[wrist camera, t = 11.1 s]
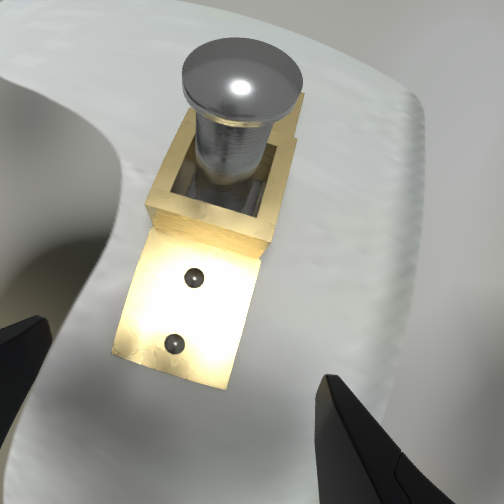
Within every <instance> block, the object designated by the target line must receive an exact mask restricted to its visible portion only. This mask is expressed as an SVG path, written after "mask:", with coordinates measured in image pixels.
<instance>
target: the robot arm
mask: <svg viewBox="0 0 504 504" xmlns="http://www.w3.org/2000/svg"><path fill="white" fill-rule="evenodd" d="M51 344H52V334H51V330H50V326H49V322H48V320H47V318H45V317H42V316H40V315H35V316H33V317H30V318H28V319H25V320H22V321H20V322H17V323H15V324H12V325H10V326H7V327H5V328H2V329H0V449H1V446H2V444H3V442H4V440H5V437H6V435H7V433H8V431H9V429H10V427H11V425H12V423H13V421H14V419H15V417H16V414H17V413H18V411H19V409H20V407H21V405H22V403H23V401H24V399H25V398H26V396H27V394H28V392H29V390H30V388H31V386H32V385H33V383H34V381H35V379H36V377H37V375H38V373H39V370H40V368H41V366H42V364H43V361H44V359H45V357H46V355H47V353H48V350H49V348H50V346H51ZM315 454H316V465H317V476H318V488H319V501H320V504H455V503H454V502H453V501H452V500H451V499H449V498H448V497H447V496H446V495H445V494H444V493H443V492H442V491H441V490H439V489H438V488H437V487H436V486H435V485H434V484H433V483H432V482H431V481H430V480H429V479H428V478H426V477H425V476H424V475H423V474H422V473H421V472H420V471H419V470H418V469H417V467H416V466H415V465H414V464H413V463H412V462H411V461H410V460H409V459H408V457H407V456H406V455H405V454H404V453H403V452H401V449H400V448H399V447H398V446H397V445H396V443H395V442H394V441H393V440H392V439H391V438H390V436H389V435H388V434H387V433H386V432H385V430H384V429H383V428H382V427H381V426H380V425H379V423H378V422H377V421H376V420H375V419H374V417H373V416H372V415H371V414H370V413H369V412H368V410H367V409H366V408H365V407H364V406H363V404H362V403H361V402H360V401H359V400H358V398H357V397H356V396H355V395H354V394H353V392H352V391H351V390H350V389H349V388H348V386H347V385H346V384H345V383H344V382H343V380H342V379H341V378H340V377H339V376H338V375H332V374H325V375H324V376H323V378H322V380H321V383H320V385H319V388H318V390H317V393H316V398H315Z"/></svg>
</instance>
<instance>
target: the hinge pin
mask: <svg viewBox="0 0 504 504" xmlns="http://www.w3.org/2000/svg"><path fill="white" fill-rule="evenodd" d="M302 86H303V78H302V74H301V71H300V69H299V67H298V66H297V64H296V63H295V62H294V61H293V59H292V58H290V57H289V56H288V55H287V54H286V53H284V52H283V51H282V50H280V49H278V48H276V47H274V46H272V45H270V44H268V43H265V42H262V41H258V40H254V39H248V38H223V39H218V40H214V41H210V42H208V43H205V44H203V45H201V46H199V47H198V48H196V49H195V50H194V51H193V52H191V53H190V54H189V56H188V57H187V58H186V60H185V62H184V65H183V68H182V87H183V93H184V96H185V98H186V100H187V102H188V103H189V104H190V106H191V107H192V108H193V109H194V110H195V111H196V200H199V201H202V202H205V203H209V204H212V205H216V206H219V207H222V208H225V209H229V210H232V211H235V212H239V213H242V212H243V210H244V207H245V204H246V201H247V198H248V196H249V193H250V190H251V187H252V184H253V181H254V178H255V175H256V172H257V170H258V167H259V164H260V161H261V158H262V155H263V152H264V150H265V147H266V144H267V141H268V138H269V135H270V133H271V130H272V127H273V124H274V123H275V122H277V121H279V120H281V119H283V118H284V117H286V116H287V115H288V114H289V113H290V112H291V111H292V110H293V108H294V106H295V104H296V102H297V100H298V97H299V95H300V93H301V90H302Z"/></svg>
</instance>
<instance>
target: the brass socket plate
mask: <svg viewBox="0 0 504 504" xmlns="http://www.w3.org/2000/svg"><path fill="white" fill-rule="evenodd" d="M304 94H305V93H302V92H301V93H300V95H299V97H298V100H297V102H296V104H295V106H294V108H293V110H292V111H291V112H290V113H289V114H288V115H287V116H286V117H284V118H283V119H281V120H279V121H277V122H275V123H274V124H273V127H272V130H271V133H270V135H269V138H268V141H267V144H266V147H265V150H264V152H263V155H262V158H261V161H260V164H259V167H258V170H257V172H256V175H255V178H254V179H256V180H259V181H262V185H261V189H260V192H259V196H258V199H257V202H256V206H255V209H254V213H253V216H248V215H245V214H242V213H239V212H235V211H232V210H229V209H225V208H222V207H219V206H216V205H212V204H209V203H205V202H202V201H199V200H195V199H192V198H188V197H185V196H186V193H187V191H188V188H189V186H190V183H191V181H192V178H193V176H194V173H195V171H196V111H195V110H194V109H193V108H189V110H188V112H187V113H186V115H185V117H184V119H183V121H182V123H181V125H180V127H179V129H178V131H177V133H176V135H175V137H174V139H173V141H172V144H171V146H170V148H169V150H168V152H167V154H166V156H165V158H164V161H163V163H162V165H161V167H160V169H159V172H158V174H157V176H156V178H155V181H154V183H153V185H152V188H151V190H150V192H149V195H148V197H147V199H146V202H145V207H146V209H147V212H148V214H149V216H150V219H151V221H152V224H153V226H154V228H153V227H151V229H150V232H149V234H148V237H147V240H146V243H145V245H144V248H143V251H142V254H141V257H140V260H139V262H138V265H137V268H136V271H135V274H134V277H133V280H132V283H131V286H130V289H129V293H128V296H127V299H126V302H125V305H124V309H123V312H122V315H121V319H120V322H119V326H118V329H117V333H116V336H115V340H114V343H113V347H112V351H111V354H114V355H116V356H119V357H122V358H124V359H127V360H130V361H132V362H135V363H138V364H141V365H144V366H147V367H150V368H152V369H155V370H158V371H162V372H165V373H168V374H171V375H174V376H177V377H181V378H184V379H187V380H191V381H194V382H198V383H201V384H205V385H209V386H212V387H216V388H220V389H224V390H226V387H227V384H228V380H229V377H230V373H231V370H232V366H233V362H234V359H235V355H236V351H237V348H238V344H239V341H240V337H241V333H242V330H243V326H244V322H245V319H246V315H247V311H248V308H249V304H250V300H251V297H252V293H253V289H254V285H255V282H256V278H257V274H258V271H259V267H260V263H261V260H258V259H259V258H260V256H261V255H262V254H263V252H264V251H265V250H266V249H267V247H268V246H269V245H270V243H271V241H272V237H273V234H274V230H275V226H276V222H277V218H278V214H279V210H280V206H281V202H282V198H283V195H284V191H285V187H286V183H287V179H288V175H289V171H290V167H291V163H292V159H293V155H294V151H295V147H296V143H297V138H294V133H295V129H296V125H297V121H298V117H299V114H300V110H301V106H302V102H303V98H304Z"/></svg>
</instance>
